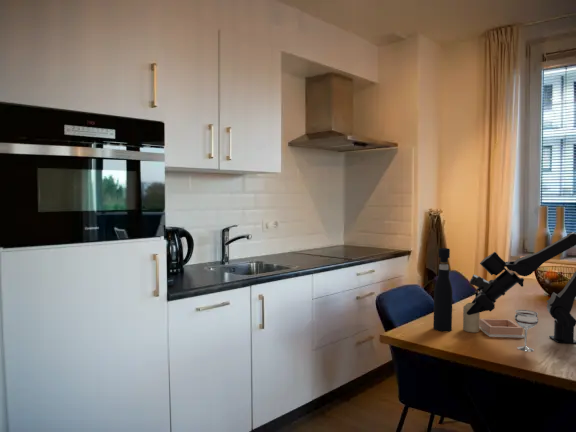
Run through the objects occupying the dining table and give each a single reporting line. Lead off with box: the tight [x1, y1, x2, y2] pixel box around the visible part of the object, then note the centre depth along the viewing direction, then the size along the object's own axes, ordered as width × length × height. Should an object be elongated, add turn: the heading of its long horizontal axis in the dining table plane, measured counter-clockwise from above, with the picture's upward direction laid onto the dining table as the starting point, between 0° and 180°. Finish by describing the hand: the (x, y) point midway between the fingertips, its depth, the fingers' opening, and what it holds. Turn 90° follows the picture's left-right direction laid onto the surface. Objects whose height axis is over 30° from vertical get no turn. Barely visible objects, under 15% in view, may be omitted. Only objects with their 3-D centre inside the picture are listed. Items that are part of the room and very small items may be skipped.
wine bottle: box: [433, 247, 454, 332], centre depth 164 cm, size 6×6×30 cm
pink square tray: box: [479, 318, 525, 339], centre depth 161 cm, size 12×12×3 cm
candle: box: [462, 302, 481, 333], centre depth 163 cm, size 6×6×10 cm
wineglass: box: [514, 309, 539, 352], centre depth 143 cm, size 7×7×12 cm
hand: (467, 312), depth 163 cm, fingers closed on candle, 5 cm apart
